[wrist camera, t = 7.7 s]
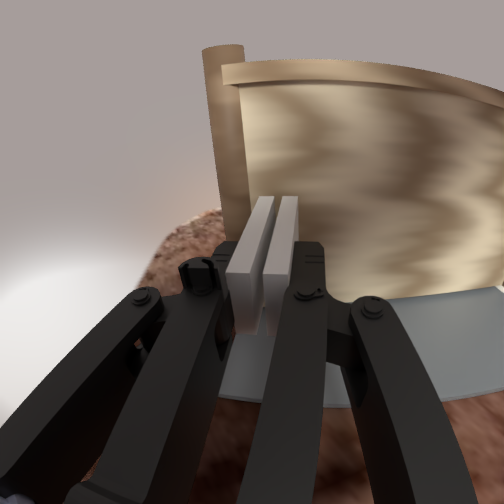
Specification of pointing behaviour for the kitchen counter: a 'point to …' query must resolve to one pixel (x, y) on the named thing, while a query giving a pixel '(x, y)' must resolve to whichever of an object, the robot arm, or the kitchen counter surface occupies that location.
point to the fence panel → (365, 167)
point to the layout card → (422, 336)
